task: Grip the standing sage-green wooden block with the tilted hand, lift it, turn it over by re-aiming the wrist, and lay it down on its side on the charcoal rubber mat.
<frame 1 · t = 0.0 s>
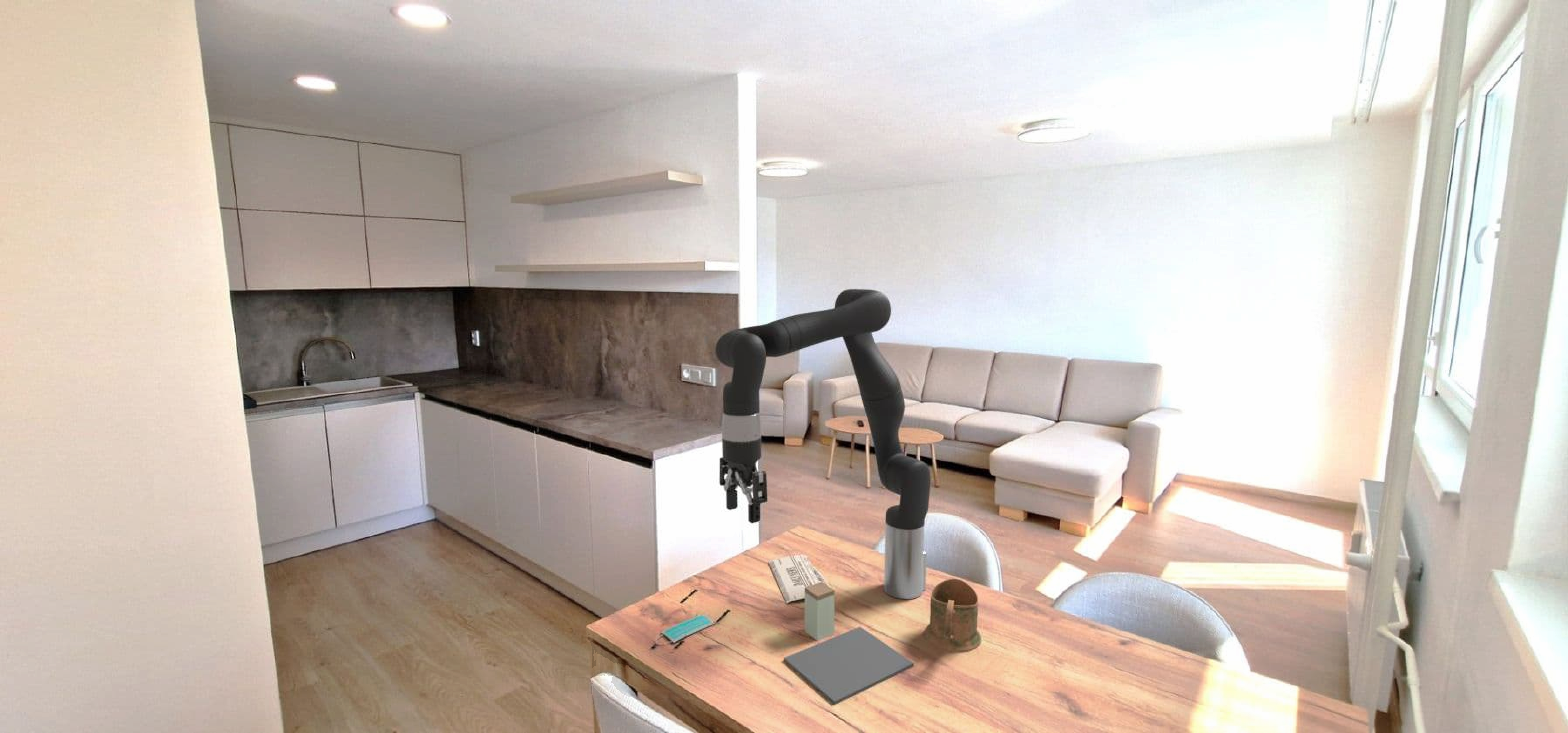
hand: (742, 515, 127), 29 cm above the table, tool pointing down, fingers open, 8 cm apart
mug: (951, 644, 134), on the table
mat: (848, 663, 128), on the table
block: (819, 632, 139), on the table
surgical mask: (691, 631, 140), on the table
newspaper: (800, 582, 163), on the table
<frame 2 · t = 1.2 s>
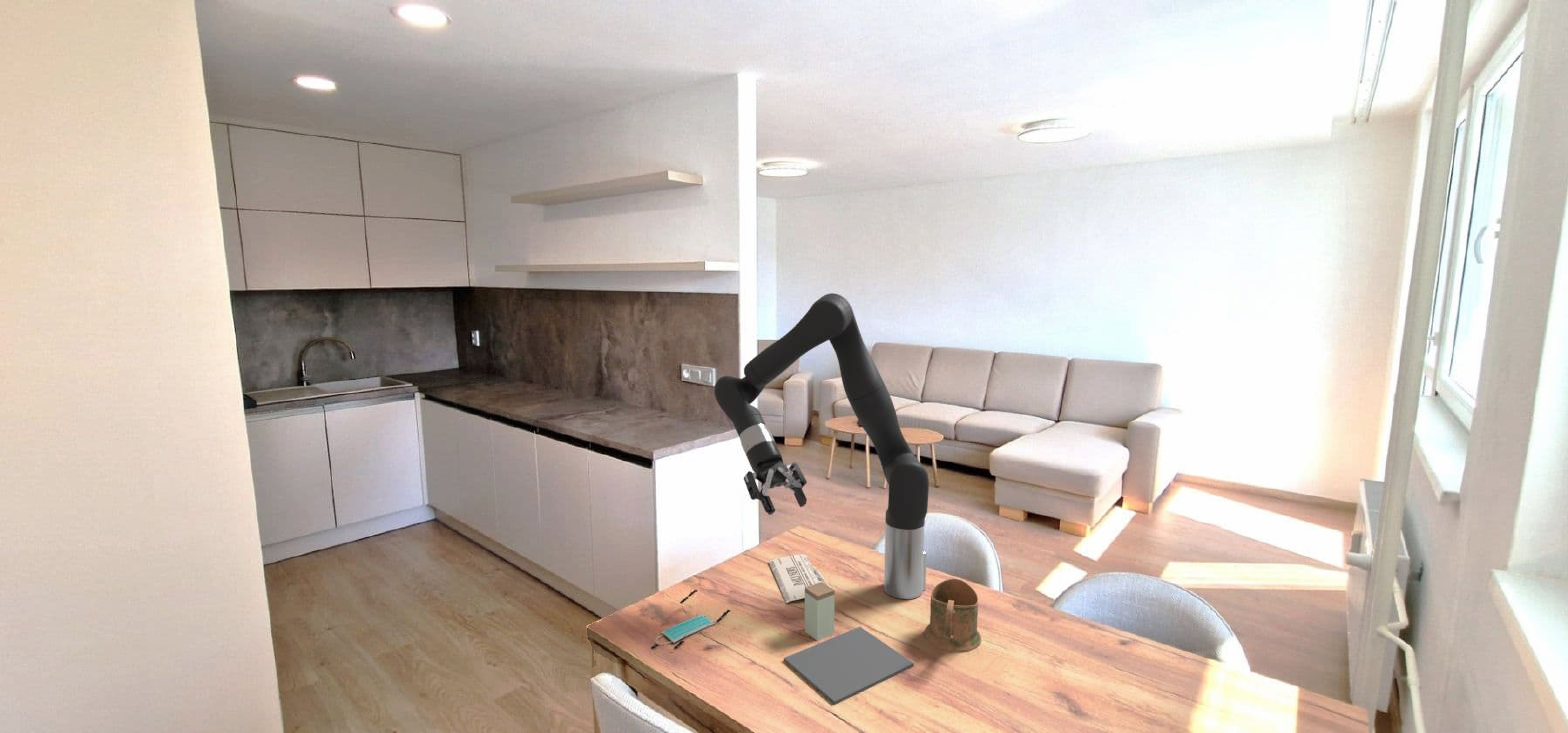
hand: (788, 509, 144), 24 cm above the table, tool tilted 45°, fingers open, 8 cm apart
nothing on the table moved.
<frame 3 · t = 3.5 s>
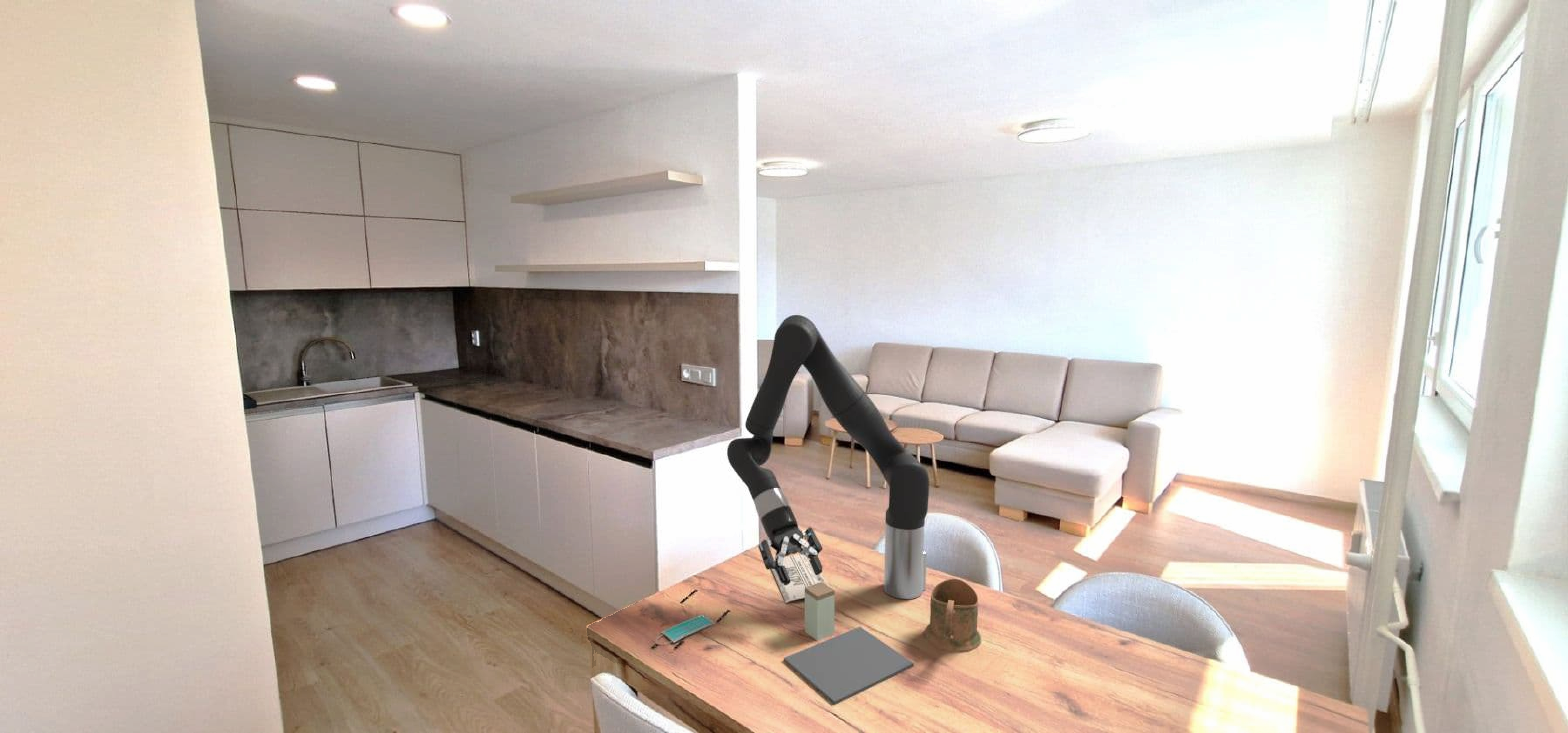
hand: (804, 578, 142), 10 cm above the table, tool tilted 45°, fingers open, 8 cm apart
nothing on the table moved.
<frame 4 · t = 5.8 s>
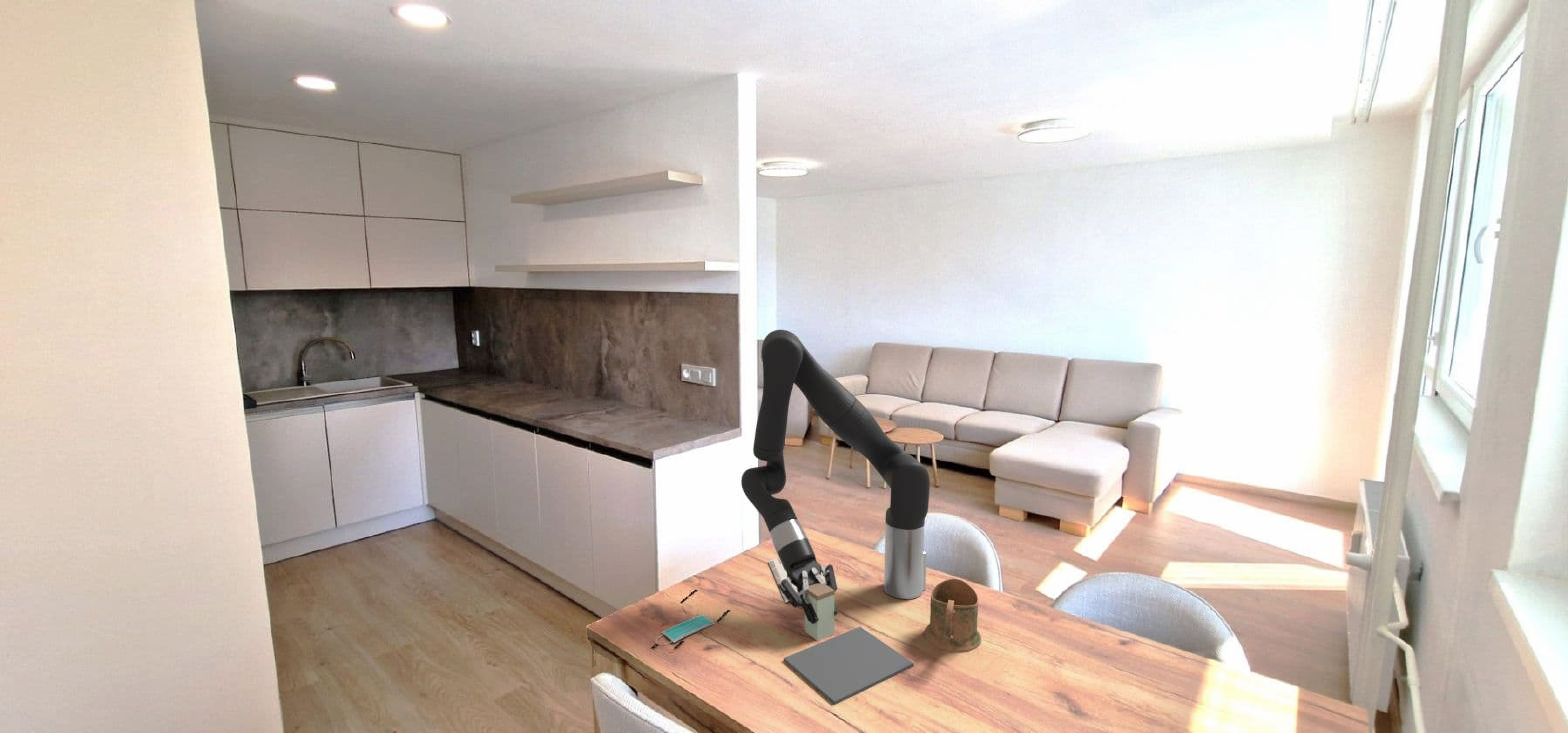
hand: (825, 618, 136), 4 cm above the table, tool tilted 45°, fingers closed on block, 4 cm apart
block: (819, 632, 139), on the table, touching gripper
everything else where it was.
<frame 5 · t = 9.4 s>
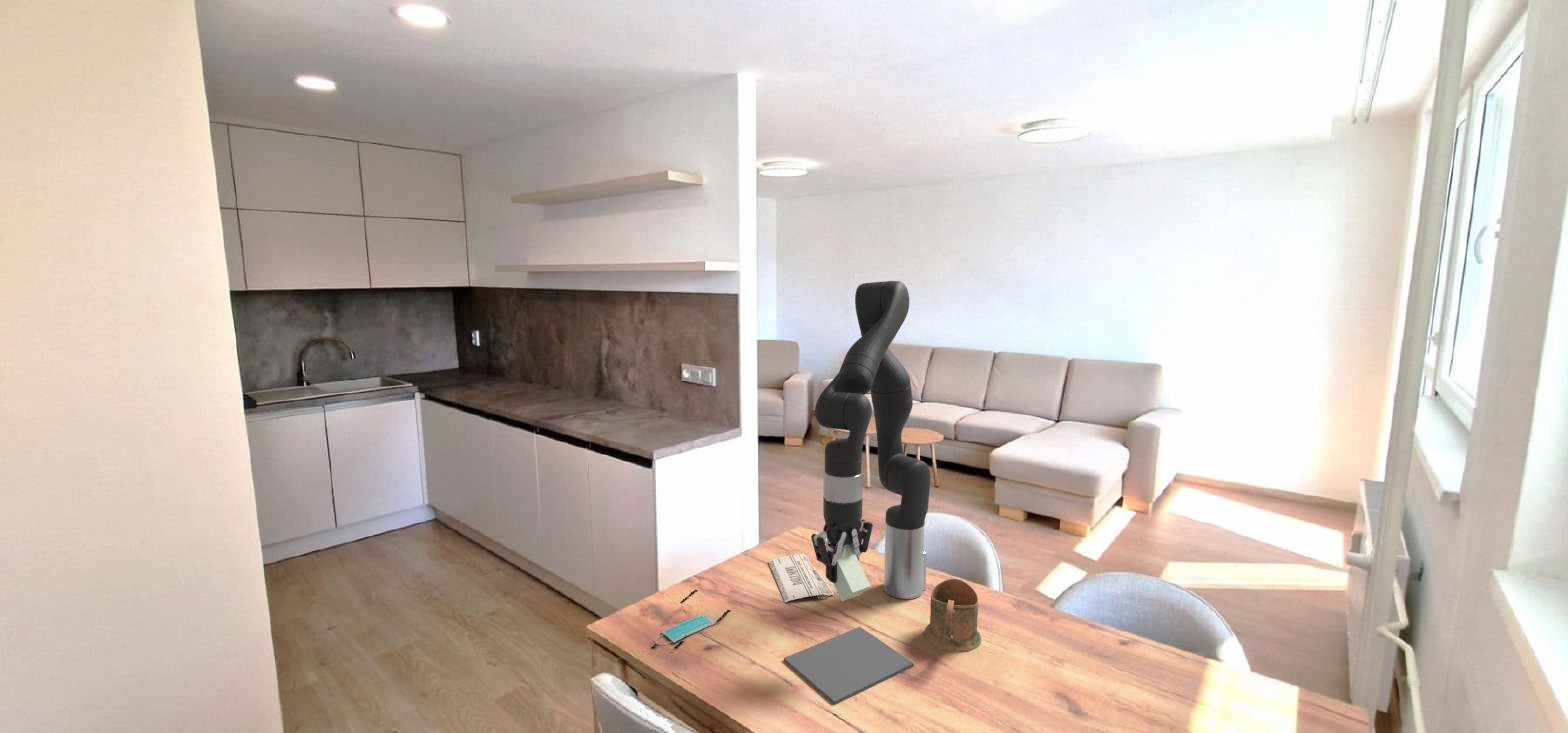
hand: (842, 577, 127), 17 cm above the table, tool pointing down, fingers closed on block, 4 cm apart
block: (856, 593, 124), point 16 cm above the table, tilted 45°, touching gripper
everything else where it was.
when the fingers open (5 cm above the table, at t = 12.6 s): block moves 2 cm and tips over, resting on mat.
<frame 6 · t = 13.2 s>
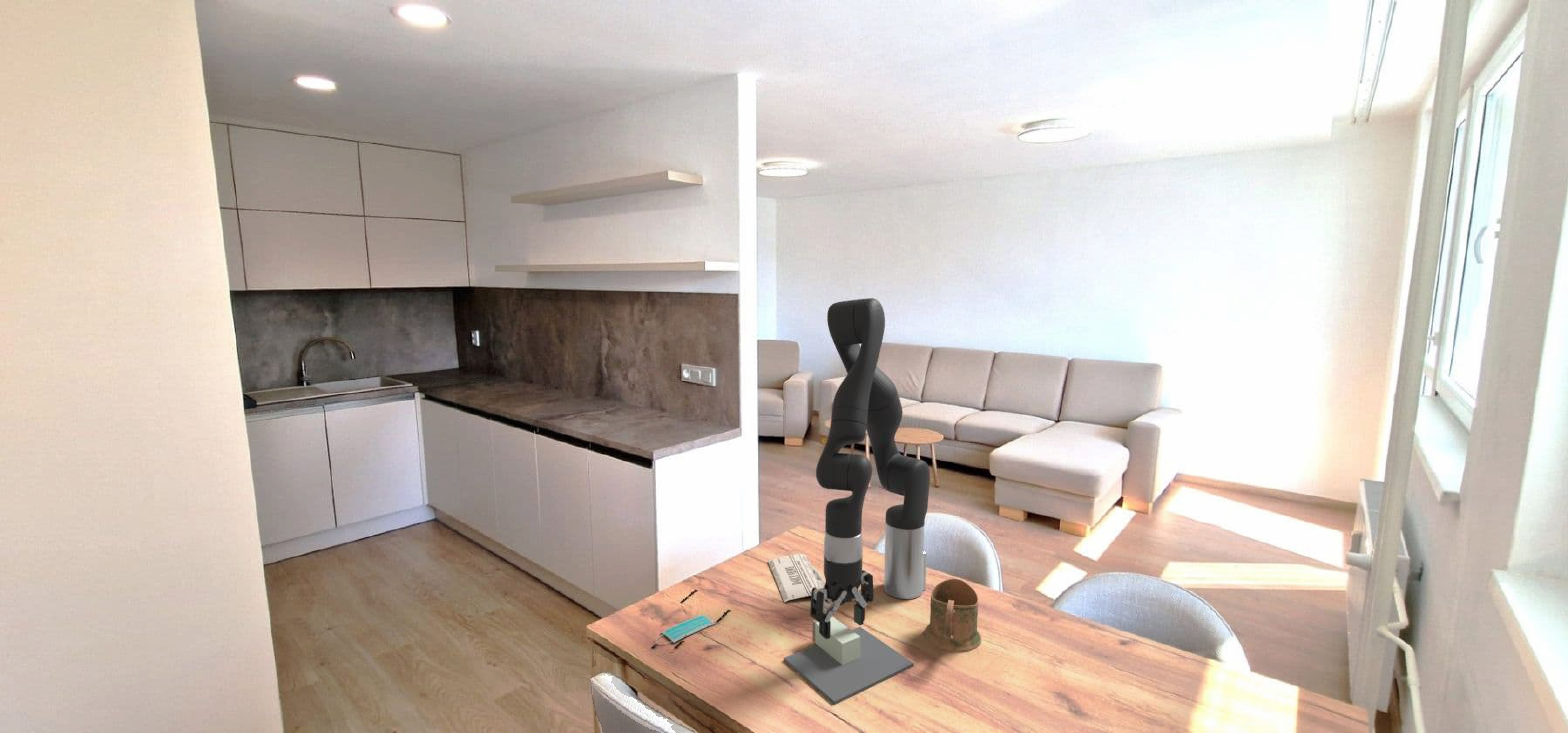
hand: (842, 630, 128), 6 cm above the table, tool pointing down, fingers open, 8 cm apart
block: (851, 650, 127), point 3 cm above the table, tilted 90°, touching mat
everything else where it was.
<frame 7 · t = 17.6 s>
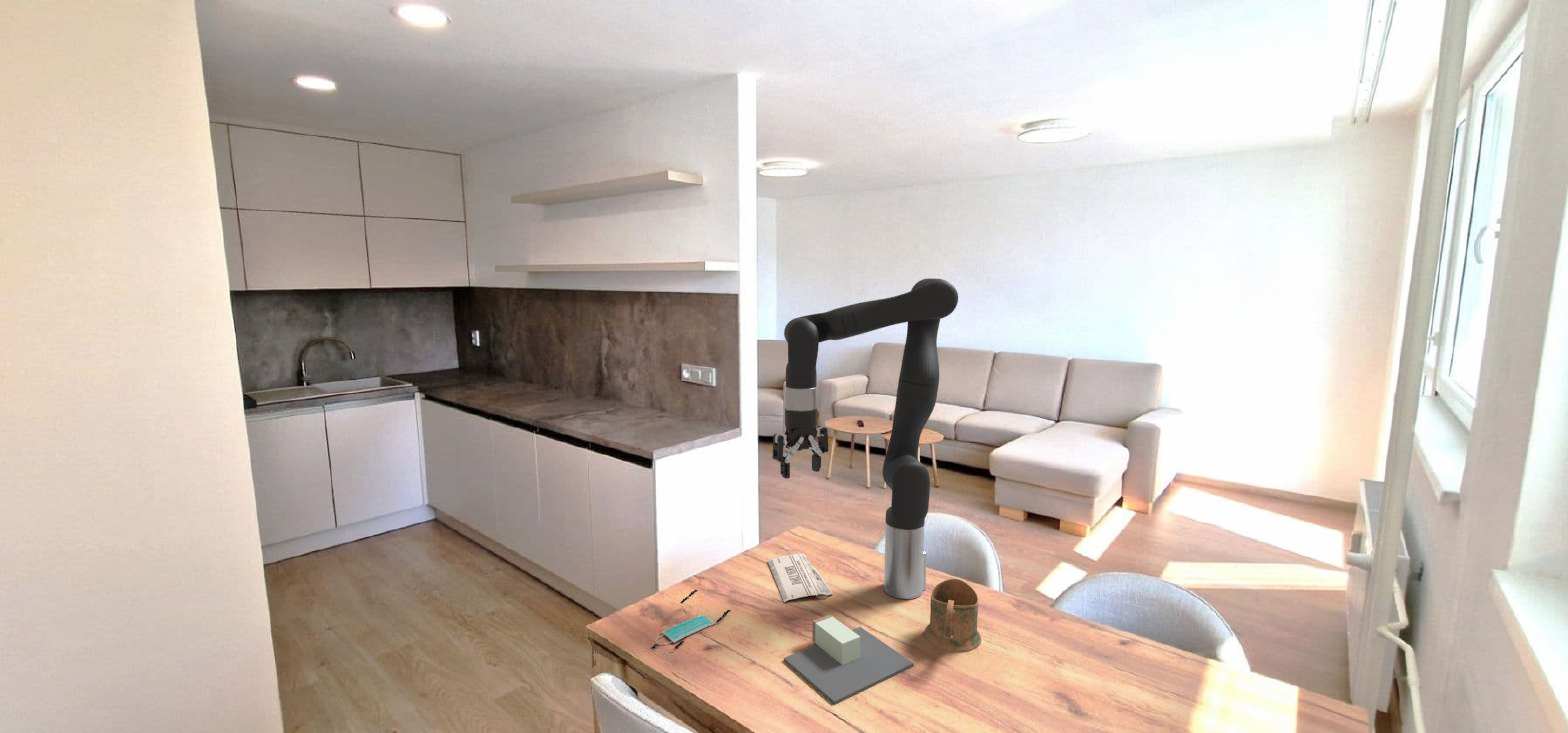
hand: (800, 474, 150), 30 cm above the table, tool pointing down, fingers open, 8 cm apart
nothing on the table moved.
at the end: block tilted 90°; block inside the target area on the mat (0.6 cm from its centre), point 2.8 cm above the mat's base; the gripper is holding nothing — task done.
